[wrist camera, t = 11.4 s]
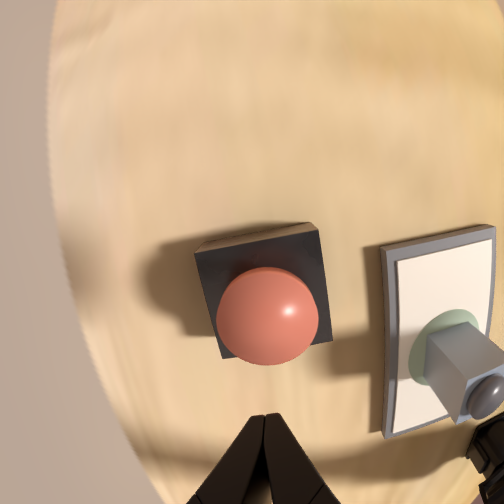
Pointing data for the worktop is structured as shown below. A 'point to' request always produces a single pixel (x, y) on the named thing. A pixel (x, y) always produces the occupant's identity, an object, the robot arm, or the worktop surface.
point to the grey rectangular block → (465, 371)
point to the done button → (267, 316)
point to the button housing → (265, 255)
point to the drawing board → (430, 313)
